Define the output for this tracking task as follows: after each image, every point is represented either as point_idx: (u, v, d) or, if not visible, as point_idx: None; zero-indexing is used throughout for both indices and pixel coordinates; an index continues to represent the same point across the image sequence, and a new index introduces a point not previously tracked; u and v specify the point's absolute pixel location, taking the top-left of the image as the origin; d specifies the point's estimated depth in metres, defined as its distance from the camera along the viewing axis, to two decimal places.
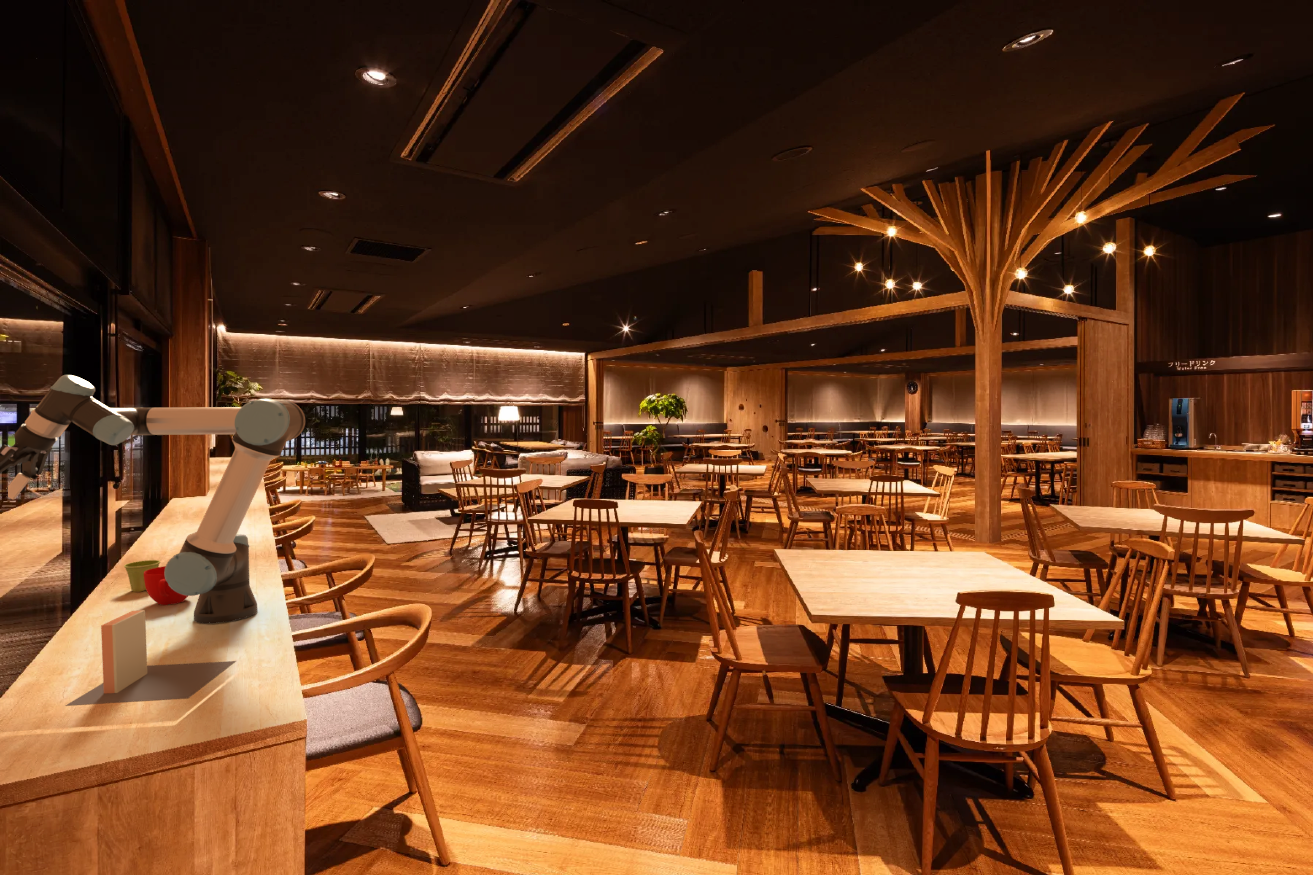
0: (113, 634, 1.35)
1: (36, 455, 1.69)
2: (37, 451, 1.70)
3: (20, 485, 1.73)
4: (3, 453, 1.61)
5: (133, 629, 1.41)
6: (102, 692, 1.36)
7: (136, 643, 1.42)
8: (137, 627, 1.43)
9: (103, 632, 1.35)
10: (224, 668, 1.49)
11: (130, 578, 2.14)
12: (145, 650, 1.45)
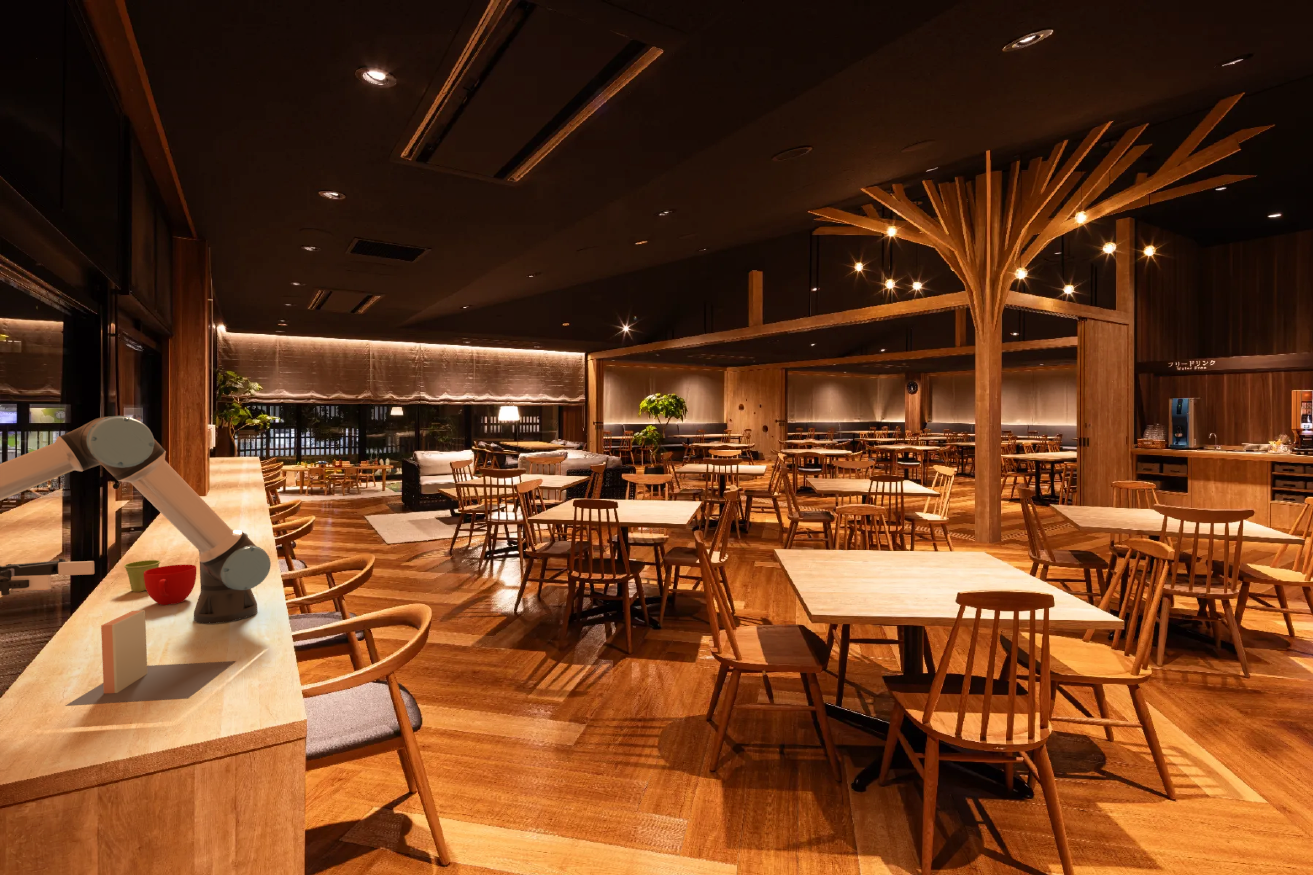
0: (113, 634, 1.35)
1: None
2: None
3: (70, 564, 1.44)
4: None
5: (133, 629, 1.41)
6: (102, 692, 1.36)
7: (136, 643, 1.42)
8: (137, 627, 1.43)
9: (103, 632, 1.35)
10: (224, 668, 1.49)
11: (130, 578, 2.14)
12: (145, 650, 1.45)
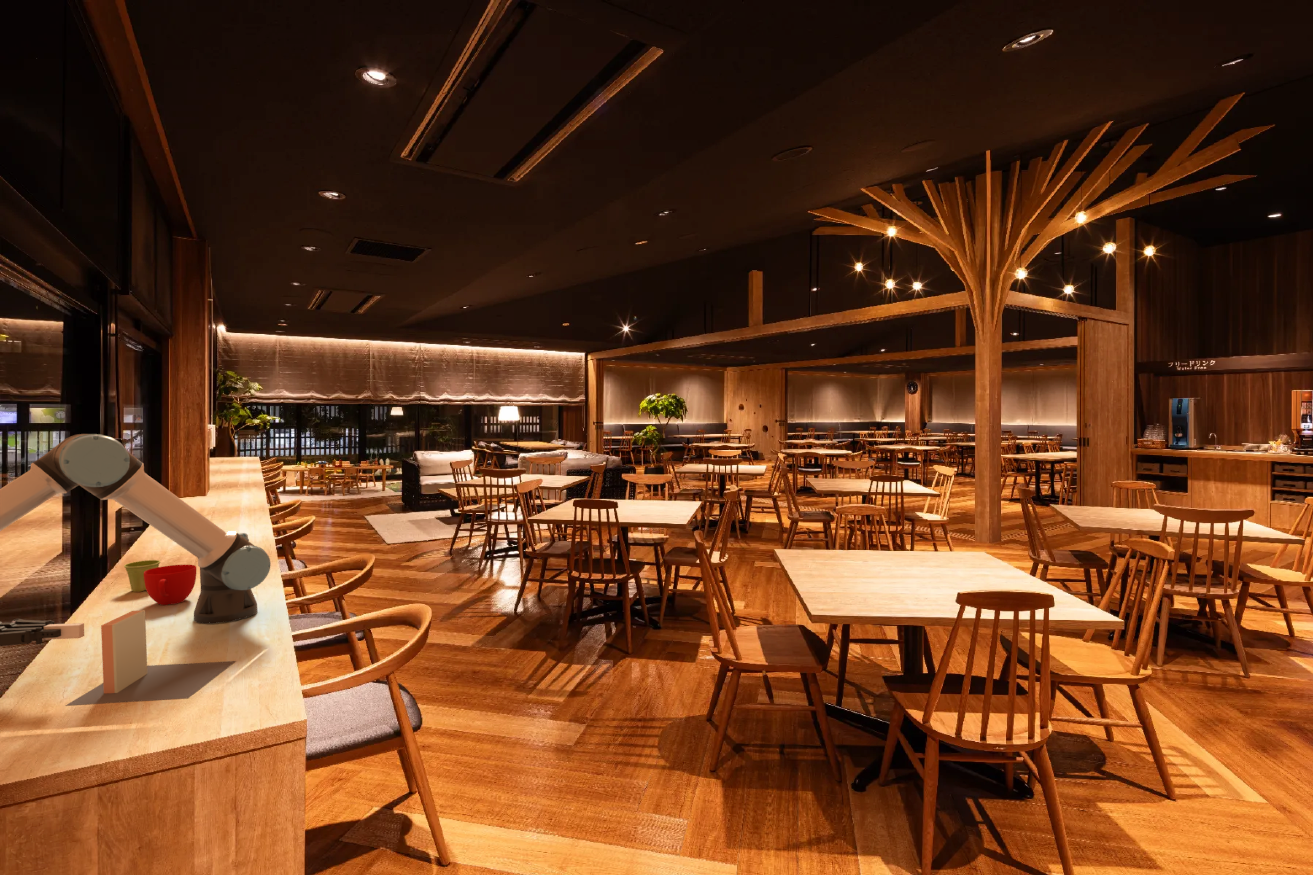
0: (113, 634, 1.35)
1: None
2: None
3: None
4: None
5: (133, 629, 1.41)
6: (102, 692, 1.36)
7: (136, 643, 1.42)
8: (137, 627, 1.43)
9: (103, 632, 1.35)
10: (224, 668, 1.49)
11: (130, 578, 2.14)
12: (145, 650, 1.45)
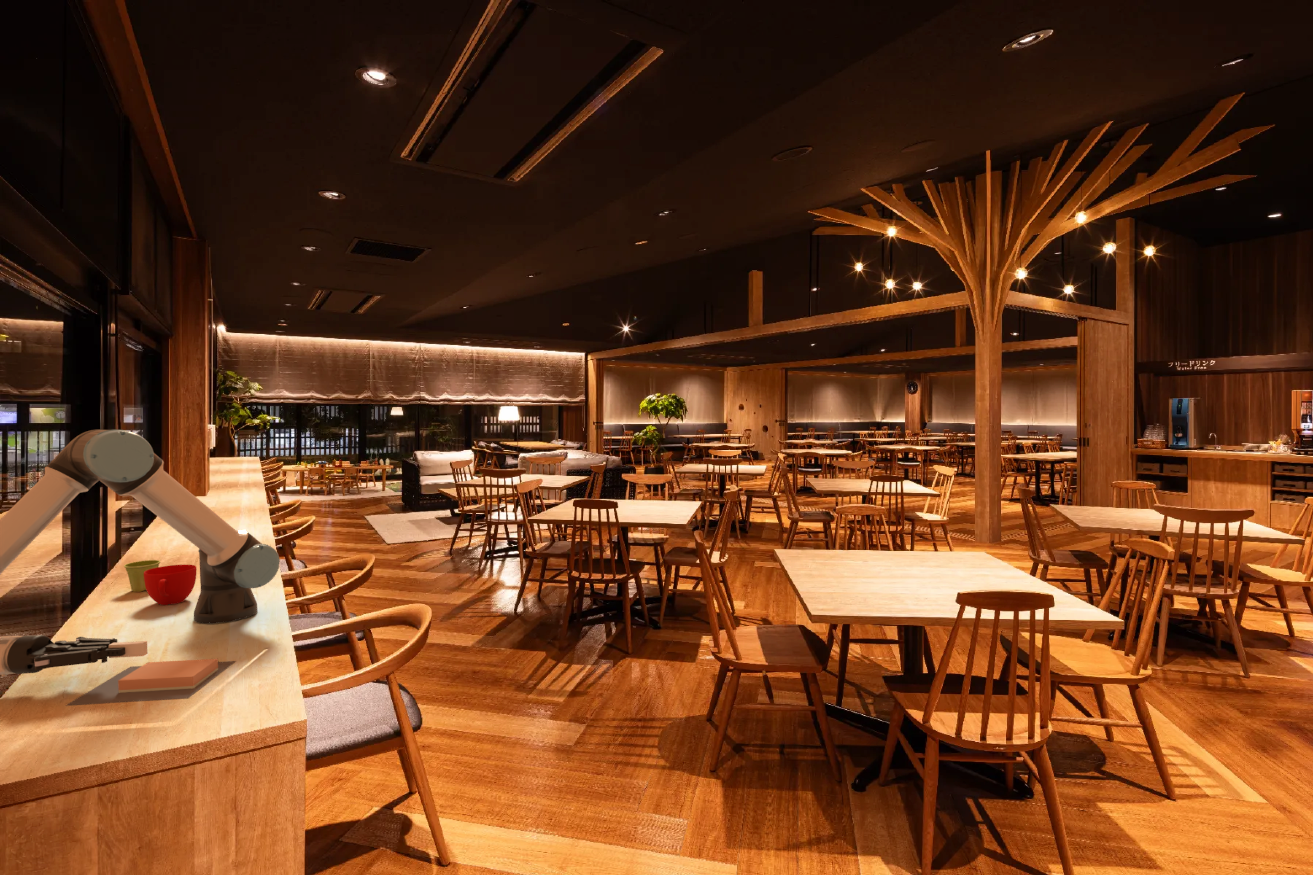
0: (182, 686, 1.38)
1: (59, 641, 1.40)
2: None
3: None
4: (46, 661, 1.33)
5: None
6: (102, 692, 1.36)
7: None
8: None
9: (185, 678, 1.38)
10: (224, 668, 1.49)
11: (130, 578, 2.14)
12: None
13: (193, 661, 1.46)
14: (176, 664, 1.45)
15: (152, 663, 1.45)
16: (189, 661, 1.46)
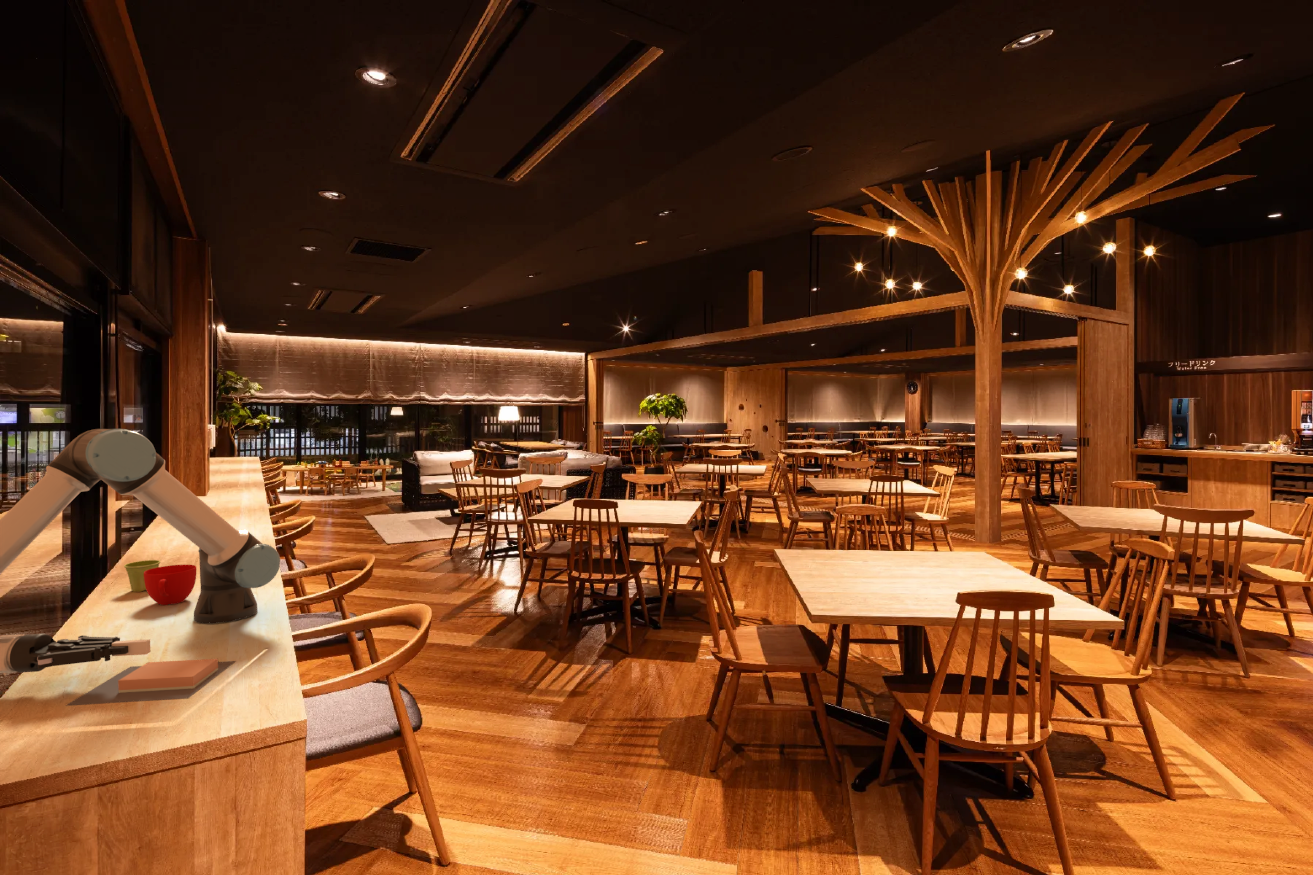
0: (182, 686, 1.38)
1: (61, 640, 1.40)
2: None
3: None
4: (49, 660, 1.33)
5: None
6: (102, 692, 1.36)
7: None
8: None
9: (185, 678, 1.38)
10: (224, 668, 1.49)
11: (130, 578, 2.14)
12: None
13: (193, 661, 1.46)
14: (176, 664, 1.45)
15: (152, 663, 1.45)
16: (189, 661, 1.46)
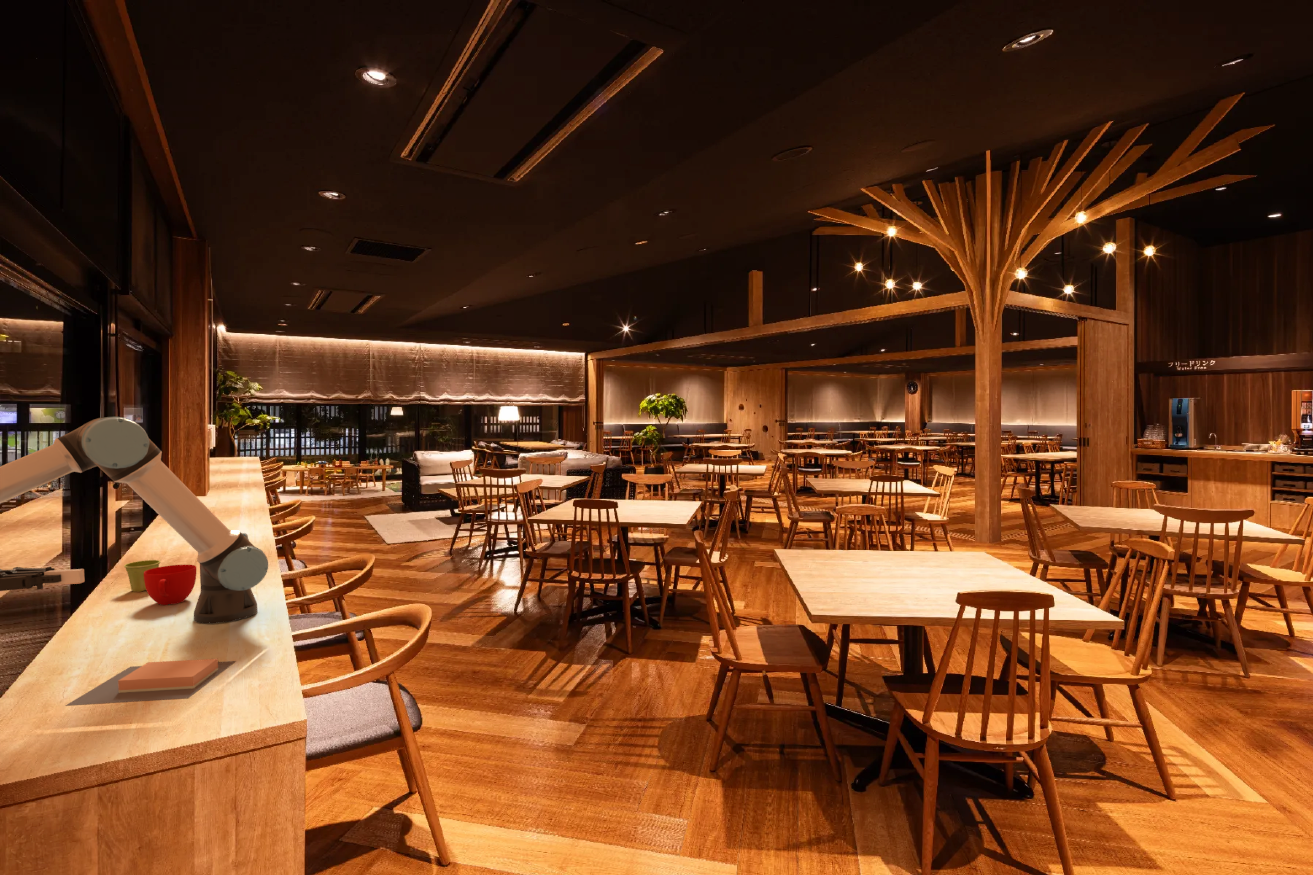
0: (182, 686, 1.38)
1: None
2: None
3: None
4: None
5: None
6: (102, 692, 1.36)
7: None
8: None
9: (185, 678, 1.38)
10: (224, 668, 1.49)
11: (130, 578, 2.14)
12: None
13: (193, 661, 1.46)
14: (176, 664, 1.45)
15: (152, 663, 1.45)
16: (189, 661, 1.46)
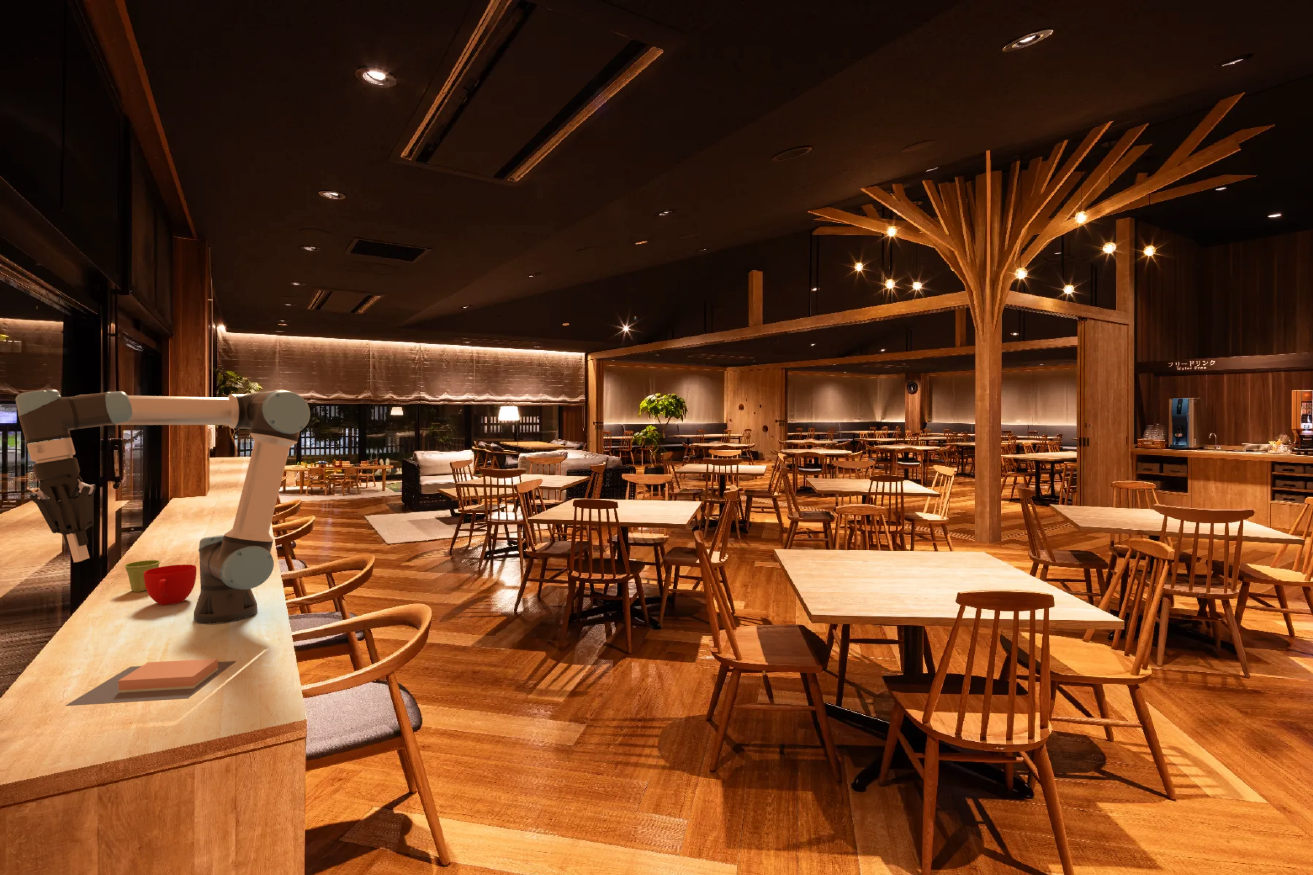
0: (182, 686, 1.38)
1: None
2: None
3: None
4: (90, 493, 1.52)
5: None
6: (102, 692, 1.36)
7: None
8: None
9: (185, 678, 1.38)
10: (224, 668, 1.49)
11: (130, 578, 2.14)
12: None
13: (193, 661, 1.46)
14: (176, 664, 1.45)
15: (152, 663, 1.45)
16: (189, 661, 1.46)
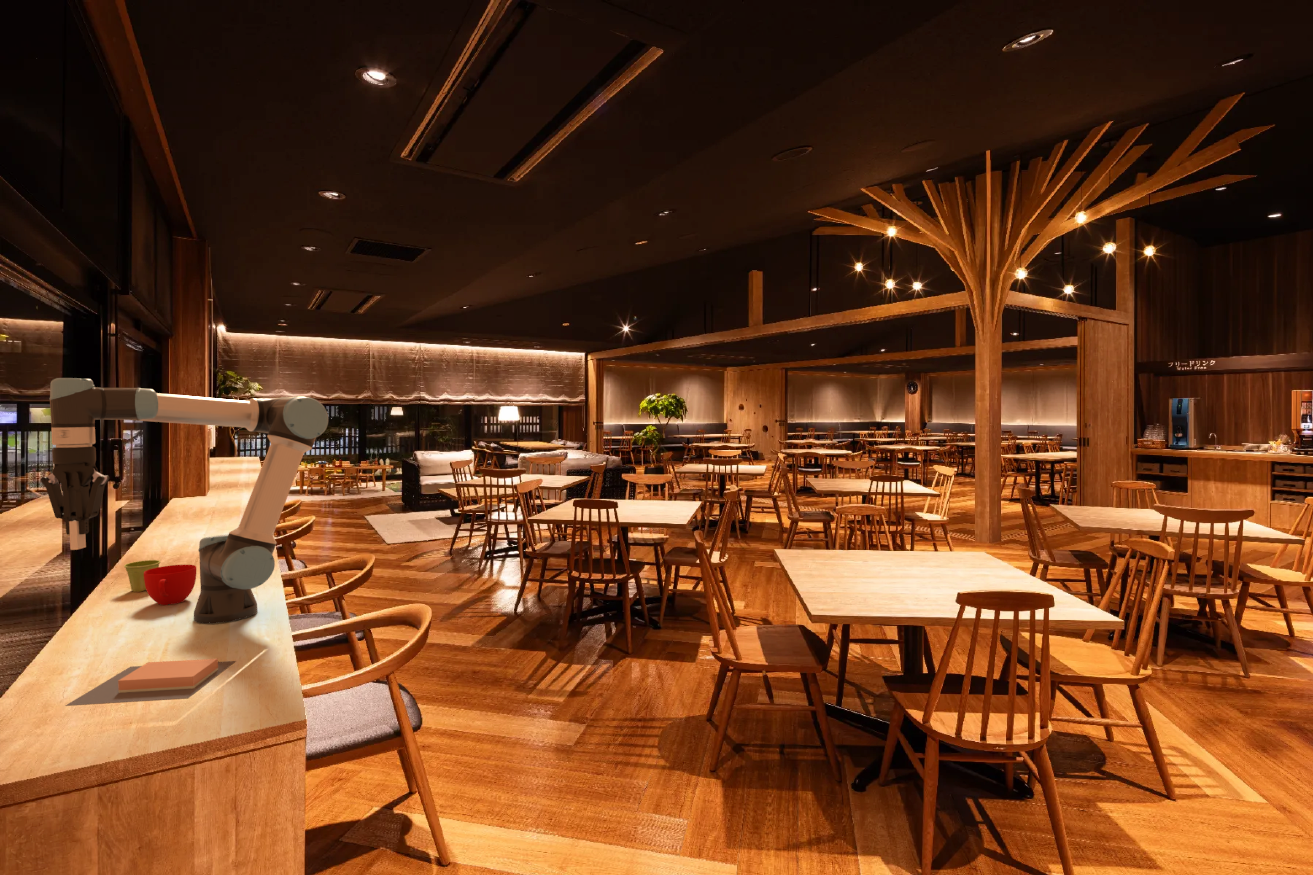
0: (182, 686, 1.38)
1: None
2: None
3: None
4: (102, 483, 1.54)
5: None
6: (102, 692, 1.36)
7: None
8: None
9: (185, 678, 1.38)
10: (224, 668, 1.49)
11: (130, 578, 2.14)
12: None
13: (193, 661, 1.46)
14: (176, 664, 1.45)
15: (152, 663, 1.45)
16: (189, 661, 1.46)
